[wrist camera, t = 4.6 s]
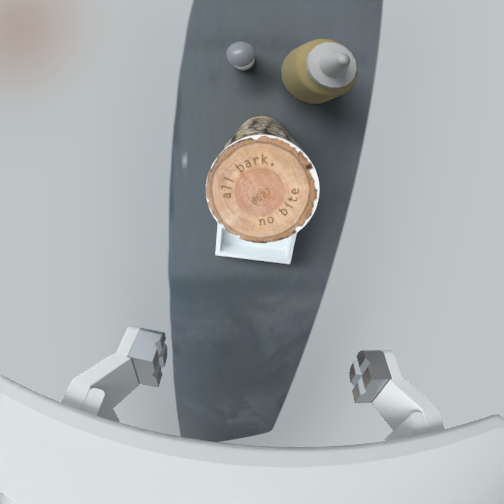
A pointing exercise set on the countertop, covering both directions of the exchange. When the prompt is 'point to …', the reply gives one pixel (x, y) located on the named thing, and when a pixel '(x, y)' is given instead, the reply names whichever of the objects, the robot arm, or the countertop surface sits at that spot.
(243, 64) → the sample vial
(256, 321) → the countertop surface
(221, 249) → the tray
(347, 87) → the squeeze bottle
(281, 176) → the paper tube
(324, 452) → the robot arm
